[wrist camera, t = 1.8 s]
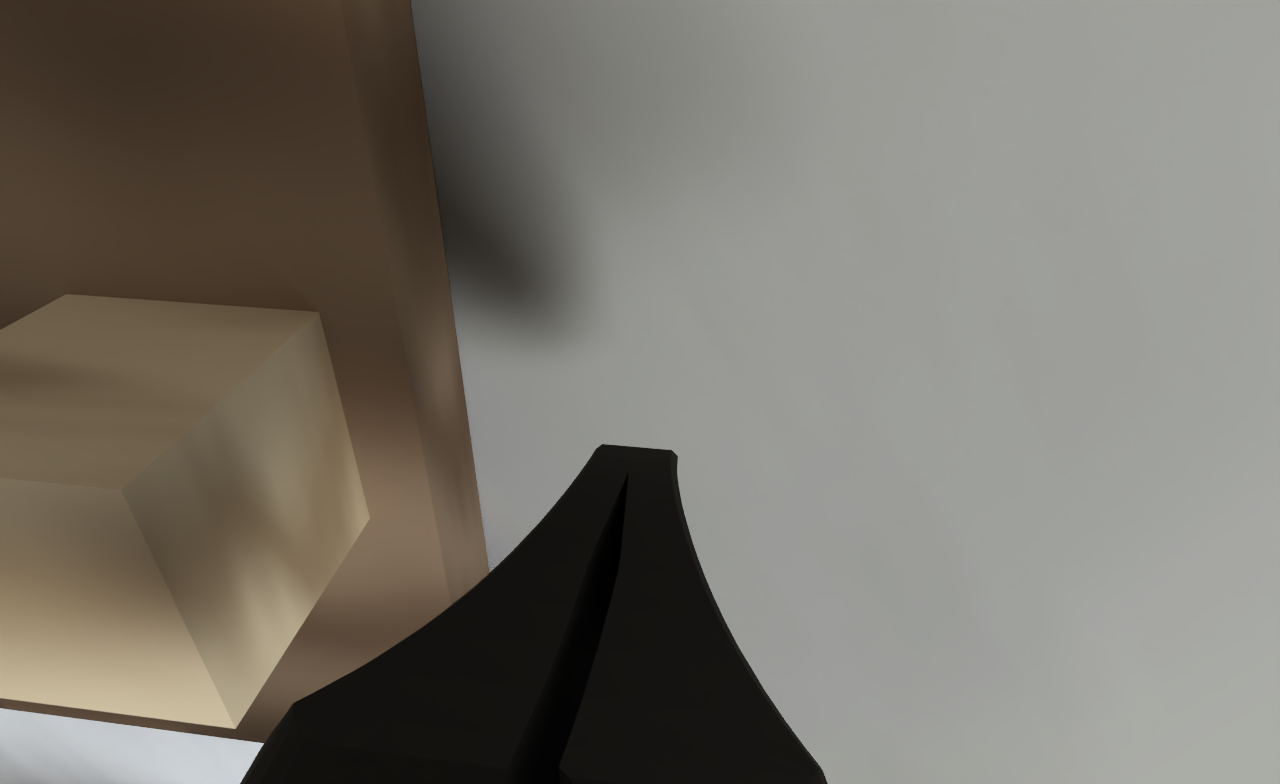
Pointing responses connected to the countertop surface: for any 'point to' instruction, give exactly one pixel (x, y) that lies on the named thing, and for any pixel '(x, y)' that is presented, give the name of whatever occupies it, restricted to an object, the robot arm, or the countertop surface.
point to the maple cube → (165, 502)
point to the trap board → (261, 254)
